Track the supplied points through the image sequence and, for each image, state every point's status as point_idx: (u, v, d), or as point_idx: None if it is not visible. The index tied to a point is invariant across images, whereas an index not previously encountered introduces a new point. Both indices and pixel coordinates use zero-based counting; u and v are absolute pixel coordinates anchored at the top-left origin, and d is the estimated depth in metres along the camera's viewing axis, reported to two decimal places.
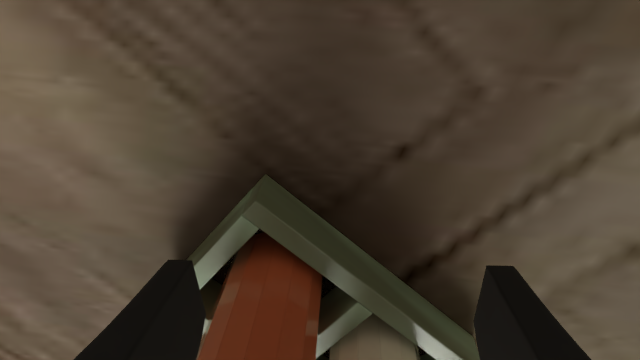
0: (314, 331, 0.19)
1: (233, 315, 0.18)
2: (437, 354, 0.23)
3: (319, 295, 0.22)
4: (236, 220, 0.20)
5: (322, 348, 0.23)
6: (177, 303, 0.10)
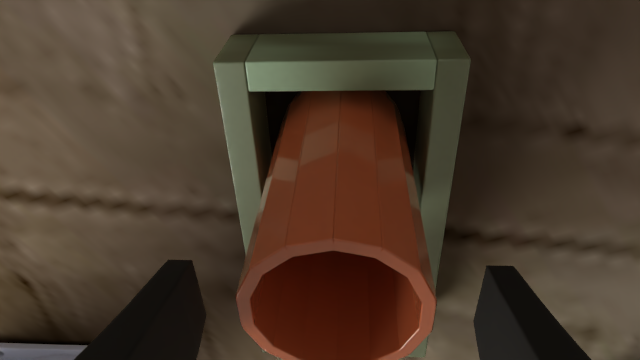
0: None
1: (380, 172, 0.12)
2: None
3: None
4: (424, 59, 0.14)
5: None
6: (177, 303, 0.10)
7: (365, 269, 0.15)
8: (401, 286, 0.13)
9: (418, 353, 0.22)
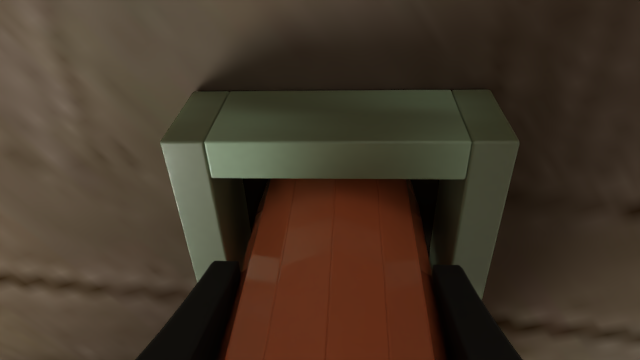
0: None
1: (392, 325, 0.08)
2: None
3: None
4: (453, 140, 0.10)
5: None
6: (227, 304, 0.10)
7: None
8: None
9: None
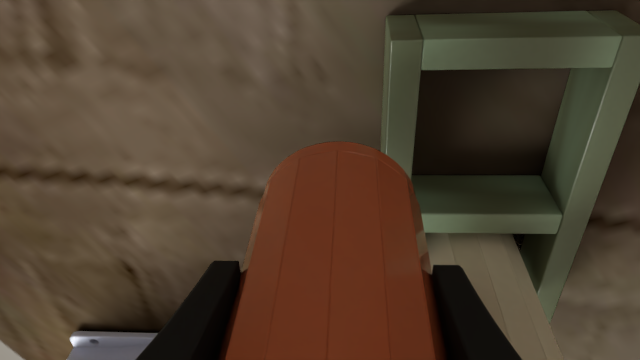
0: None
1: (393, 324, 0.08)
2: (541, 303, 0.21)
3: None
4: (608, 35, 0.14)
5: (471, 228, 0.18)
6: (227, 304, 0.10)
7: None
8: None
9: None
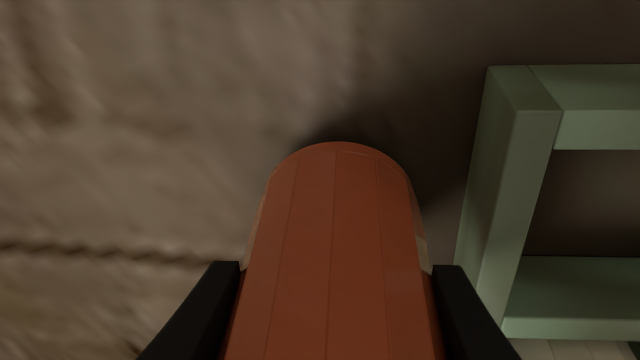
0: None
1: (393, 324, 0.08)
2: None
3: None
4: None
5: (584, 335, 0.14)
6: (227, 304, 0.10)
7: None
8: None
9: None
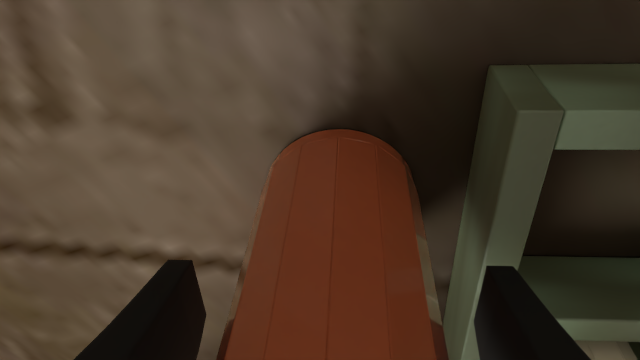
0: None
1: (391, 295, 0.09)
2: None
3: None
4: None
5: (585, 336, 0.14)
6: (177, 303, 0.10)
7: None
8: None
9: None
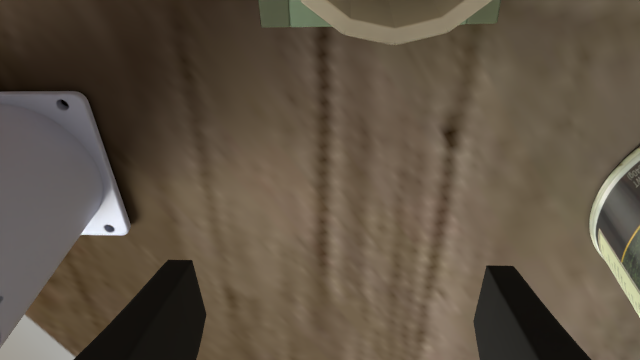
0: None
1: None
2: None
3: None
4: None
5: None
6: (177, 303, 0.10)
7: None
8: None
9: (488, 13, 0.15)
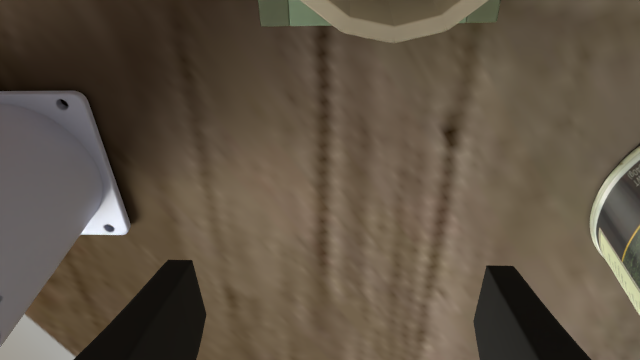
0: None
1: None
2: None
3: None
4: None
5: None
6: (177, 303, 0.10)
7: None
8: None
9: (488, 12, 0.15)
